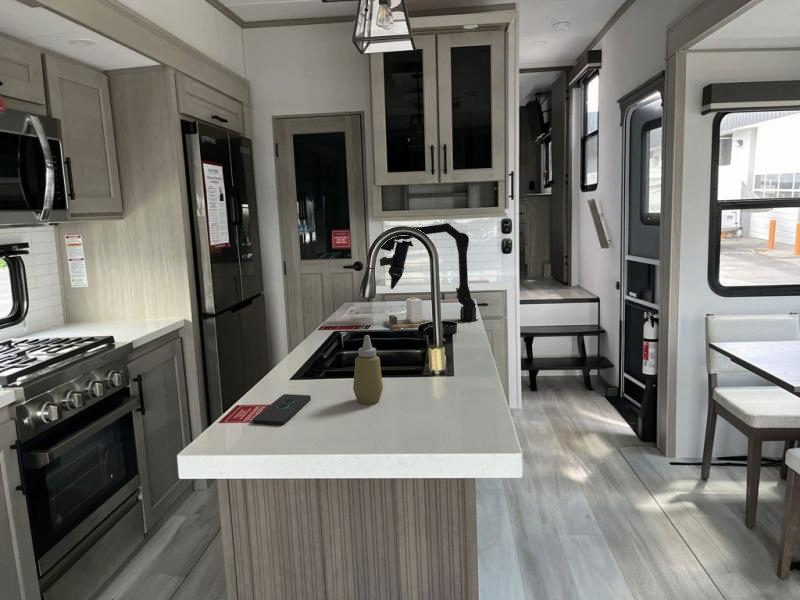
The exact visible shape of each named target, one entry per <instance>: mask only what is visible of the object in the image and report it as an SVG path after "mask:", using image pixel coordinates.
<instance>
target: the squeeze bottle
mask: <svg viewBox="0 0 800 600" xmlns="http://www.w3.org/2000/svg"><path fill="white" fill-rule="evenodd" d="M370 337H371V336H370V335H368V334H366V335H364V339H363V344H362V347H360V348H358V356H356V357H355V361H354V373H353V387H352V390H353V393H354V396H355V398H356V399H355V400H356V401H357V402H358V404H363V405H372V404H376V403H378V402H380V399H381V396H382V392H383V389H384V385H383V384H384V383H383V377H382V369H381V359H380V357H379V356H378V355H377V348H375V347H373V345H372V342H371V338H370Z"/></svg>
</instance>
